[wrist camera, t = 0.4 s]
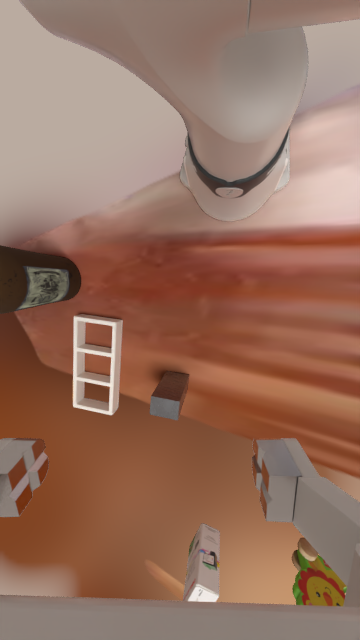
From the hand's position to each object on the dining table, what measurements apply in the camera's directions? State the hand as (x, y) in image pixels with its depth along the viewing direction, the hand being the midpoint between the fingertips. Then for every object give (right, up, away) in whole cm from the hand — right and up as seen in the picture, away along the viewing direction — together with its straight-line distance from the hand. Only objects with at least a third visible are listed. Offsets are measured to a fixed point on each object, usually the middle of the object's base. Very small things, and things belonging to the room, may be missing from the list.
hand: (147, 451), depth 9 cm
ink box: (+7, -48, +47) cm, 68 cm away
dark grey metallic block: (+1, -8, +41) cm, 42 cm away
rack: (-17, -5, +44) cm, 47 cm away
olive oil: (-25, +14, +42) cm, 50 cm away
